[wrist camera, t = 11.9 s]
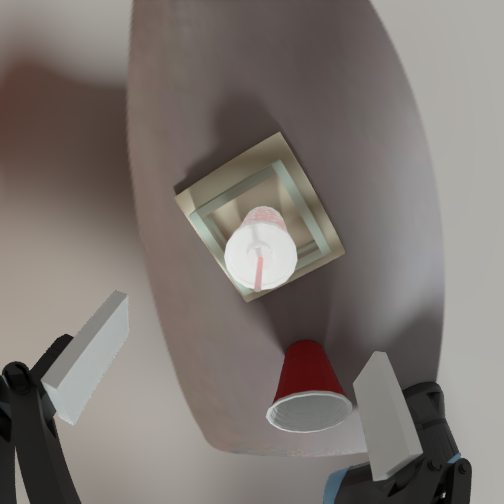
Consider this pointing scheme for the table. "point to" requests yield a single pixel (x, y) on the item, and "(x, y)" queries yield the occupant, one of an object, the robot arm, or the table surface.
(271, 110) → the table surface
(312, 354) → the plastic cup
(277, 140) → the cup stand
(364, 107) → the table surface
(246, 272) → the beverage cup
